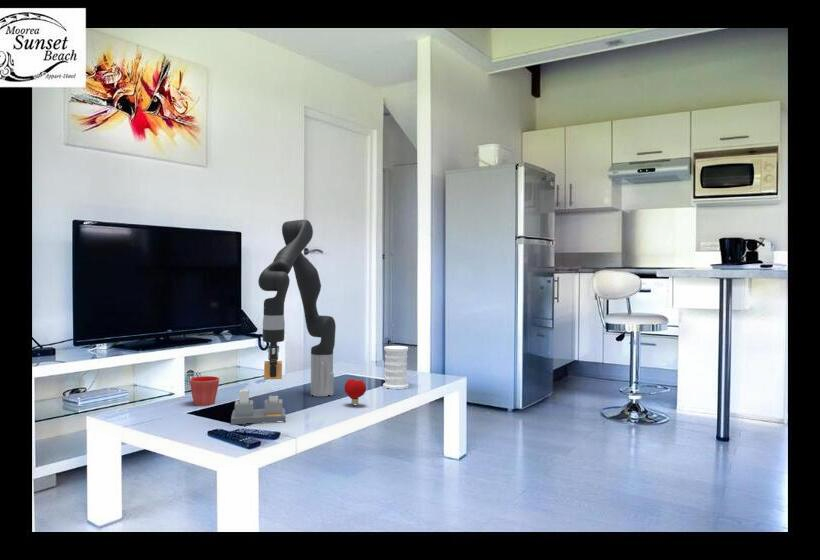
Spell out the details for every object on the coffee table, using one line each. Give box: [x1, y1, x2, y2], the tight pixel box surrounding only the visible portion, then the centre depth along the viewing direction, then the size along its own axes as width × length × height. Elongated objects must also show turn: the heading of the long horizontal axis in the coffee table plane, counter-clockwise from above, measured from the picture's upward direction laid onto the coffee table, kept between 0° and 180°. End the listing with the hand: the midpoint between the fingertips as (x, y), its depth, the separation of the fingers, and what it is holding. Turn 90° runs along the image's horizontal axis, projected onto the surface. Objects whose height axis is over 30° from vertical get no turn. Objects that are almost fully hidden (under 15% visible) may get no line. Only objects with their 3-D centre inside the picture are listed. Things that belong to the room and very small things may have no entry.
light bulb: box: [344, 378, 367, 405], centre depth 229 cm, size 9×7×10 cm
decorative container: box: [382, 345, 409, 388], centre depth 266 cm, size 12×12×18 cm
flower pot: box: [189, 375, 220, 406], centre depth 230 cm, size 11×11×10 cm
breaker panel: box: [230, 398, 286, 425], centre depth 208 cm, size 18×12×6 cm, turn 103°
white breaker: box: [268, 395, 279, 403], centre depth 209 cm, size 3×3×6 cm
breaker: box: [238, 389, 250, 404], centre depth 206 cm, size 3×3×6 cm
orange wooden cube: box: [263, 360, 283, 380], centre depth 208 cm, size 6×6×6 cm
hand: (273, 375), depth 208 cm, fingers closed on orange wooden cube, 6 cm apart
